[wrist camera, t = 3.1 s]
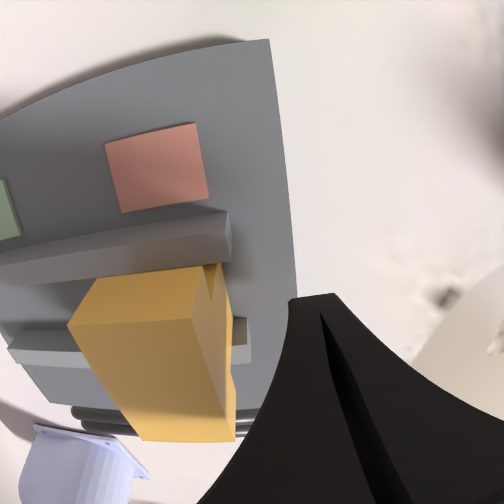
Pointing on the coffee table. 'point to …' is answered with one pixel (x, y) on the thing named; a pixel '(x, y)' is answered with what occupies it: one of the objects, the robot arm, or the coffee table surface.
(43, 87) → the coffee table surface
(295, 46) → the coffee table surface
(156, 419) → the toggle knob
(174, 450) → the coffee table surface
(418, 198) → the coffee table surface
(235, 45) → the panel
